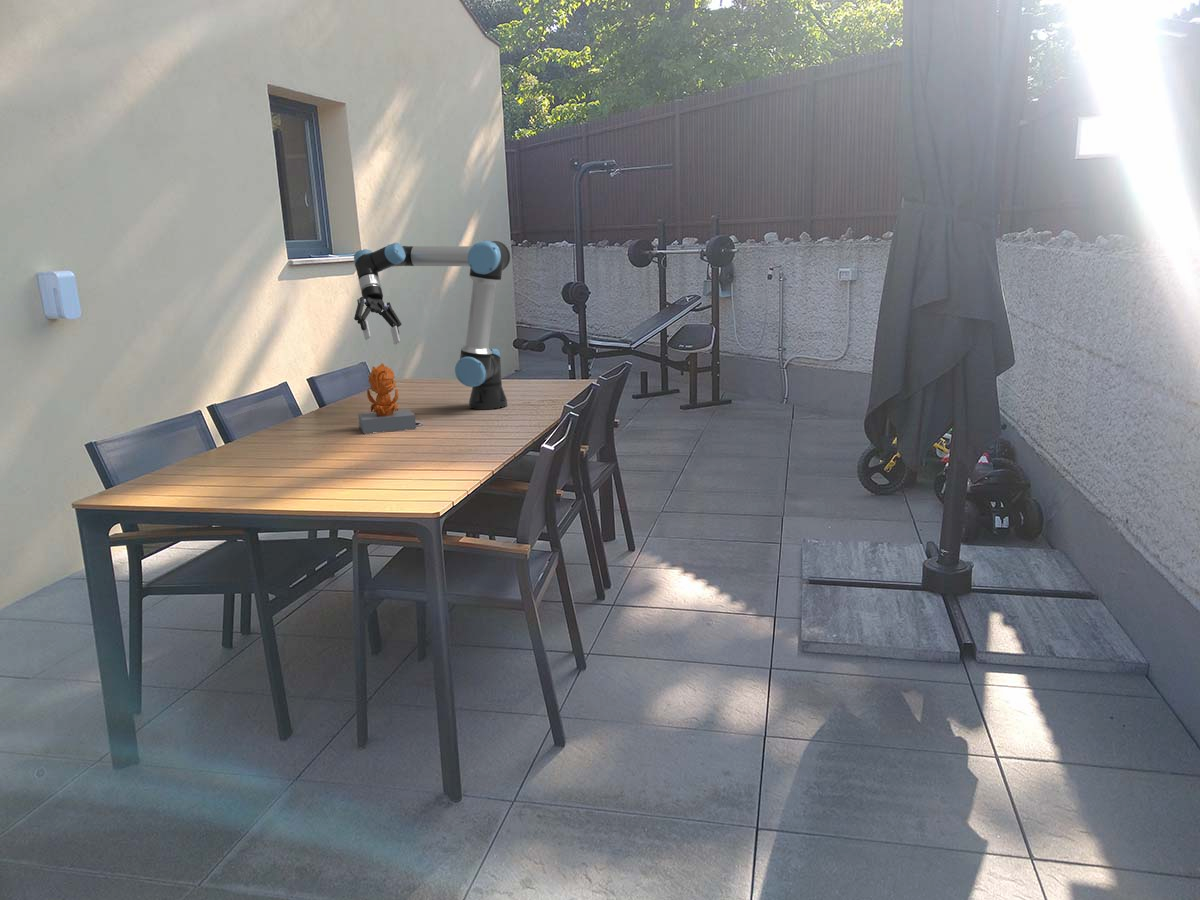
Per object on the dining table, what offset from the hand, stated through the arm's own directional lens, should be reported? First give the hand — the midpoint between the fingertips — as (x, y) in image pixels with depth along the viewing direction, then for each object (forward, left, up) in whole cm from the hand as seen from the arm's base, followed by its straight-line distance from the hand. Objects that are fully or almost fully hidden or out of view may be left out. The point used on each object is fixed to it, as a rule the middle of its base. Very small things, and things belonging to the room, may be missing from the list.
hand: (382, 340), depth 335 cm
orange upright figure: (+4, +20, -25) cm, 32 cm away
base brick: (+4, +20, -29) cm, 36 cm away
